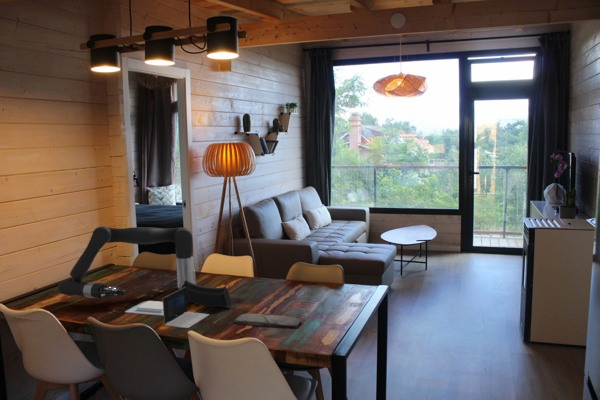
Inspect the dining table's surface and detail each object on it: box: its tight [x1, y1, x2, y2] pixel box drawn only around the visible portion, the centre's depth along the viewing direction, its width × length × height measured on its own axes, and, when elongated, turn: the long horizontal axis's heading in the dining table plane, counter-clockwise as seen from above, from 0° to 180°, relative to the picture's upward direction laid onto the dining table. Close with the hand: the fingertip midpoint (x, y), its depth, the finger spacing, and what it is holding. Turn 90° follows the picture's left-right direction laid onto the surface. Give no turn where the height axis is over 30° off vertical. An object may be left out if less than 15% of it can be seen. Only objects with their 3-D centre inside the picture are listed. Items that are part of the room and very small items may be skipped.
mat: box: [124, 301, 164, 317], centre depth 259 cm, size 21×16×1 cm
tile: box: [137, 300, 163, 312], centre depth 258 cm, size 2×10×14 cm
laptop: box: [162, 287, 210, 329], centre depth 240 cm, size 18×12×13 cm
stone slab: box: [234, 313, 304, 330], centre depth 235 cm, size 10×3×30 cm
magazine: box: [181, 280, 233, 308], centre depth 262 cm, size 17×3×30 cm
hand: (124, 292), depth 262 cm, fingers closed
